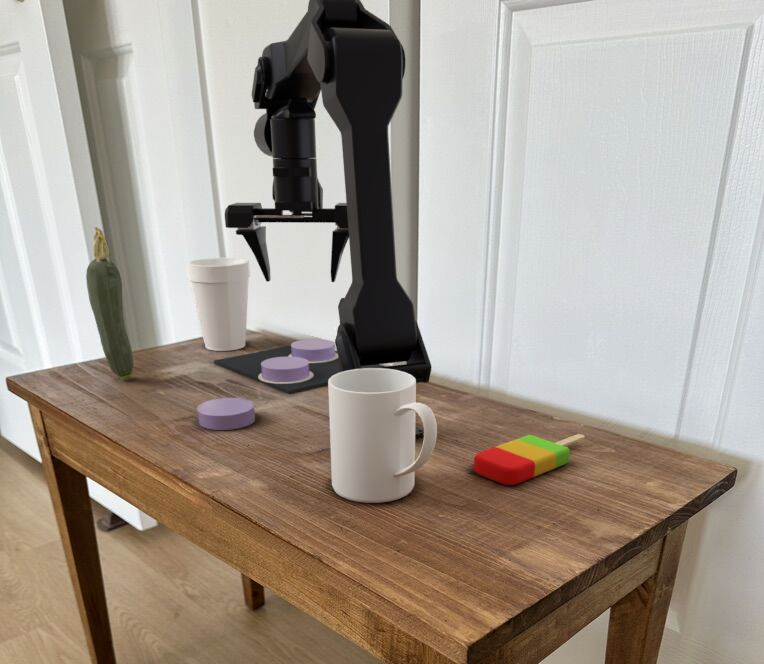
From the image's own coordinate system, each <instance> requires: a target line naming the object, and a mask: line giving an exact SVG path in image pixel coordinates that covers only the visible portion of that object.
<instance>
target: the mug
mask: <svg viewBox="0 0 764 664" xmlns="http://www.w3.org/2000/svg"><path fill="white" fill-rule="evenodd" d="M327 386H328V413H329V414H328V416H329V441H330V443H329V444H330V467H331V468H330V469H331V472H330V473H331V487H332V488H333V490H334V492H335V494H337V495H338V496H340V497H341V498H344V499H345V500H349V501H353V502H357V503H365V504H380V503H387V502H392V501H397V500H399V499H401V498H404V497H406V496H408V495H409V494H410V493H412V491H413V489H414V488H415V477H416V476H415V475H416V473H415V472H416V471H418V470H419V469H421V468H422V467H423V466H424V465H426V464H427V462H428V461H429V459H430V457H432V455H433V453H434V450H435V447H436V442H437V437H438V425H437V419H436V416H435V413H434V412H433V410H432V409H431V407H429V406H428V405H427V404H425V403H422V402H417V383H416V379H415V378H414V377H413V376H412V375H410V374H408V373H406V372H402V371H398V370H393V369H383V368H363V369H354V370H348V371H344V372H340V373H337V374H335V375H333V376H332V377H331V378H330V379H329V381H328V384H327ZM416 413H417V414H418V416H419V417H420V420H421V421H422V422H421V423H422V426H423V430H424V436H423V442H422V447H421V449H420V453H419V455H418V457H417V458H416V438H415V427H416V417H417V415H416Z"/></svg>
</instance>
